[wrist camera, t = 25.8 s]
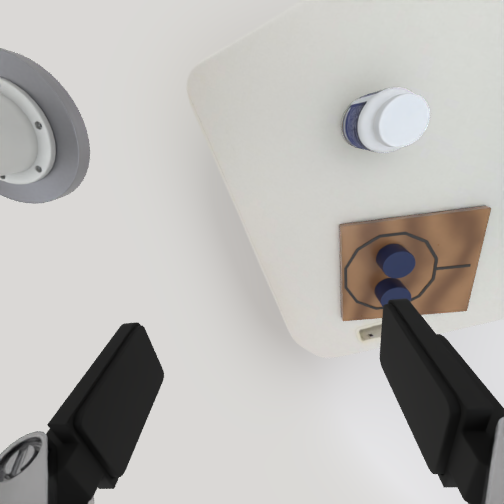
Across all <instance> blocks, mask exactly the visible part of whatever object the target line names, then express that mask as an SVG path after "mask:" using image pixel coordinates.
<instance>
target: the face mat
mask: <svg viewBox="0 0 504 504" xmlns="http://www.w3.org/2000/svg"><path fill="white" fill-rule="evenodd" d="M490 211H491V208H490V207H487V206H480V207H472V208H464V209H457V210H449V211H441V212H433V213H425V214H418V215H410V216H402V217H394V218H386V219H378V220H371V221H363V222H355V223H347V224H340V269H341V317H342V320H343V321H350V320H362V319H374V318H382V316H383V307H382V305H381V303H380V302H379V300H378V299H377V297H376V295H375V287H376V285H377V284H378V283H379V282H380V281H382V280H384V279H387V278H390V277H388V276H387V275H385V273H384V272H383V271H382V269H381V268H380V267H379V266H378V264H377V262H376V256H377V254H378V252H379V251H380V249H382V248H383V247H384V246H386V245H389V244H400V245H402V246H403V247H404V248H405V249H407V250H408V251H409V252H410V253H411V254H412V255H413V256H414V258H415V262H416V263H415V267H414V269H413V271H412V272H411V273H410V274H408V275H407V276H405V277H402V278H396V279H398V280H400V281H401V282H402V283H403V285H404V286H405V287H406V288H407V289H408V290H409V292H410V293H411V301H410V302H411V303H412V305H413V306H414V307H415V308H416V310H417V311H418V312H419V313H420V315H423V314H435V313H447V312H460V311H467V308H468V303H469V299H470V295H471V291H472V287H473V282H474V278H475V274H476V270H477V266H478V261H479V257H480V253H481V249H482V244H483V240H484V236H485V232H486V228H487V223H488V219H489V215H490Z"/></svg>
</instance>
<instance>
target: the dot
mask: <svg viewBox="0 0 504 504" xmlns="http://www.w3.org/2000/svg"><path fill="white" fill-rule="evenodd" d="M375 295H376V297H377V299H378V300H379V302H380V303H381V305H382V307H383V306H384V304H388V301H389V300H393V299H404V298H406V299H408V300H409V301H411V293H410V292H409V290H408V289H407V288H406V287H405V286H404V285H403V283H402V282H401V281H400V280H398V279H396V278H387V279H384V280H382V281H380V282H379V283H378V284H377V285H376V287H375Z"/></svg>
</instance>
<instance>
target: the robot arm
mask: <svg viewBox="0 0 504 504" xmlns="http://www.w3.org/2000/svg"><path fill="white" fill-rule="evenodd" d="M55 155H56V145H55V139H54V135H53V131H52V129H51V126H50V124H49V122H48V120H47V118H46V116H45V115H44V113H43V111H42V110H41V109H40V107H39V106H38V105H37V103H36V102H35V101H34V100H33V99H32V98H31V97H30V96H29V95H28V94H27V93H26V92H25V91H24V90H22V89H21V88H20V87H18V86H17V85H16V84H14V83H12V82H10V81H8V80H7V79H4V78H1V77H0V180H2V181H5V182H8V183H12V184H29V183H33V182H36V181H39V180H41V179H43V178H44V177H45V176H46V175H48V173H49V172H50V170H51V169H52V167H53V164H54V162H55ZM380 362H381V366H382V368H383V370H384V373H385V375H386V377H387V379H388V381H389V383H390V386H391V388H392V390H393V392H394V394H395V397H396V398H397V401H398V403H399V405H400V407H401V409H402V412H403V414H404V416H405V418H406V420H407V422H408V425H409V427H410V429H411V431H412V433H413V435H414V438H415V440H416V442H417V444H418V446H419V448H420V450H421V453H422V455H423V457H424V459H425V461H426V463H427V466H428V468H429V469H430V471H431V472H432V473H433V474H438V476H439V478H440V480H441V482H442V484H443V486H444V487H458V489H459V491H460V493H461V495H462V497H463V499H464V500H465V501H467V502H468V504H504V408H503V407H502V406H501V404H500V403H499V402H498V401H497V400H496V398H495V397H494V396H493V395H492V394H491V393H490V391H489V390H488V389H487V388H486V386H485V385H484V384H483V383H482V382H481V380H480V379H479V378H478V377H477V375H476V374H475V373H474V372H473V371H472V369H471V368H470V367H469V366H468V365H467V363H466V362H465V361H464V360H463V358H462V357H461V356H460V355H459V354H458V352H457V351H456V350H455V349H454V348H453V347H452V345H451V344H450V343H449V341H448V340H447V339H446V338H445V337H444V336H442V335H440V334H437V335H436V334H435V332H434V331H433V330H432V329H431V327H430V326H429V325H428V324H427V322H426V321H425V320H424V318H423V317H422V316H421V315H420V313H419V312H418V311H417V310H416V308H415V307H414V306H413V305H412V303H411V302H410V301H409V300H408V299H406V298H404V299H393V300H389V301H388V304H384V306H383V316H382V331H381V347H380ZM163 378H164V372H163V370H162V367H161V364H160V362H159V360H158V358H157V355H156V353H155V351H154V348H153V346H152V344H151V342H150V339H149V337H148V335H147V333H146V330H145V328H144V327H143V326H141V325H140V324H139V323H128V324H123V325H121V326H120V328H119V329H118V331H117V332H116V333H115V335H114V336H113V337H112V339H111V340H110V342H109V343H108V344H107V345H106V347H105V348H104V349H103V351H102V352H101V353H100V355H99V356H98V357H97V359H96V360H95V361H94V363H93V364H92V365H91V367H90V368H89V370H88V371H87V372H86V374H85V375H84V376H83V378H82V379H81V380H80V382H79V383H78V384H77V386H76V387H75V388H74V390H73V391H72V393H71V394H70V395H69V396H68V398H67V399H66V400H65V402H64V403H63V405H62V406H61V407H60V409H59V410H58V411H57V413H56V414H55V415H54V417H53V418H52V419H51V421H50V422H49V423H48V426H49V427H50V429H49V431H48V432H47V434H45V433H44V432H38V431H37V432H33V433H29V434H27V435H25V436H23V437H21V438H19V439H18V440H17V441H15V442H14V443H12V444H11V445H10V446H9V447H7V448H6V449H5V450H4V451H3V452H2V453H1V454H0V504H94V498H93V496H94V493H95V491H96V489H97V487H98V488H99V489H105V488H106V489H108V488H109V489H111V488H112V489H114V487H115V485H116V483H117V481H118V478H119V477H121V476H122V475H123V474H124V472H125V470H126V468H127V465H128V463H129V460H130V458H131V455H132V453H133V451H134V448H135V446H136V443H137V441H138V439H139V436H140V434H141V432H142V429H143V427H144V425H145V422H146V420H147V417H148V415H149V413H150V410H151V408H152V406H153V403H154V401H155V398H156V396H157V394H158V391H159V389H160V386H161V384H162V382H163Z"/></svg>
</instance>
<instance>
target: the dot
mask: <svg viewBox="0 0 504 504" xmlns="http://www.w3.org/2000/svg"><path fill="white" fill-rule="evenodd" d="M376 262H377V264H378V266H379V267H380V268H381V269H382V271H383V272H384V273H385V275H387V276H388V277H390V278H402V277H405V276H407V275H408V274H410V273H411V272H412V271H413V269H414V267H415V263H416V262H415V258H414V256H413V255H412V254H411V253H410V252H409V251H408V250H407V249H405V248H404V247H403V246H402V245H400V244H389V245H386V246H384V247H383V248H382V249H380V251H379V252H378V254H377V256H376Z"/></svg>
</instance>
